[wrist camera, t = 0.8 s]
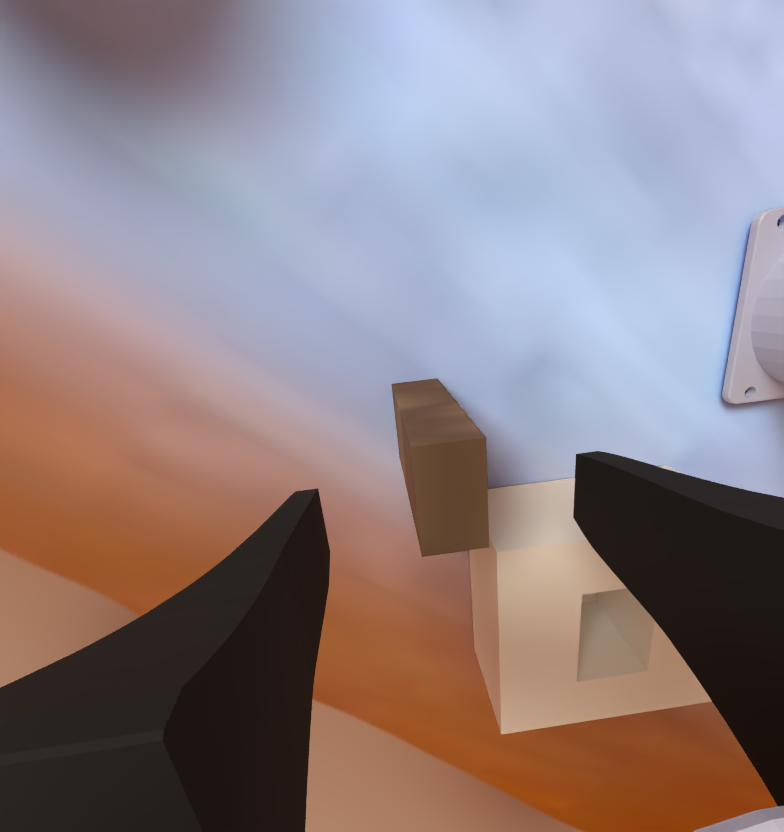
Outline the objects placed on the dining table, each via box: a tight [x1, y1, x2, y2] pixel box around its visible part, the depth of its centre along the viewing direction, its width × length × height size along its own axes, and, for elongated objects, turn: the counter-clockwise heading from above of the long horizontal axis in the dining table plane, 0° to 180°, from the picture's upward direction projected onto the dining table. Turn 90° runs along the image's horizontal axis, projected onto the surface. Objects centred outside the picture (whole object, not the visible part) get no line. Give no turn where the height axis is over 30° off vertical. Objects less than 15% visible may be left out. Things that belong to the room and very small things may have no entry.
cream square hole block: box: [469, 465, 712, 734], centre depth 19 cm, size 10×10×4 cm
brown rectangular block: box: [392, 379, 489, 557], centre depth 14 cm, size 2×4×7 cm, turn 6°
